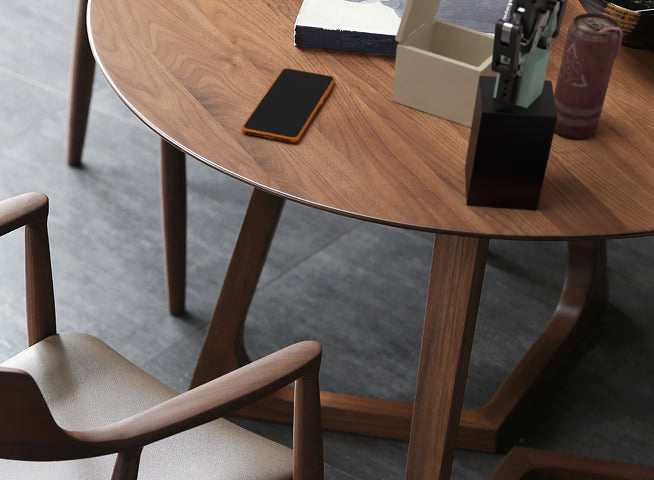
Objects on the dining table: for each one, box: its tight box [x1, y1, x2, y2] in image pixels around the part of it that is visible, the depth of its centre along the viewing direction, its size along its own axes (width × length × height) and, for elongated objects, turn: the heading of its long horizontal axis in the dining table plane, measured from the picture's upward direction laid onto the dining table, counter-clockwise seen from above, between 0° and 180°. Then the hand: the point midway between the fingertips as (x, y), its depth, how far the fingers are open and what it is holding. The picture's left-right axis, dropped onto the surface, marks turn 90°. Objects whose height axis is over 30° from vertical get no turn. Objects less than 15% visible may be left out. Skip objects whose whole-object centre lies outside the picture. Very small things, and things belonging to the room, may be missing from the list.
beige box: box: [391, 17, 497, 129], centre depth 138 cm, size 12×10×8 cm
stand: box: [464, 76, 557, 211], centre depth 121 cm, size 8×8×12 cm
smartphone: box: [241, 67, 336, 143], centre depth 137 cm, size 8×17×1 cm, turn 162°
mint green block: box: [493, 42, 551, 108], centre depth 116 cm, size 4×4×5 cm
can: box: [553, 12, 624, 140], centre depth 131 cm, size 6×6×14 cm
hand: (518, 91), depth 117 cm, fingers open, 5 cm apart
